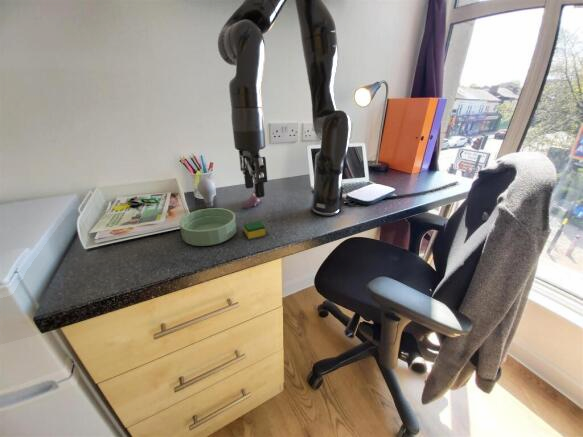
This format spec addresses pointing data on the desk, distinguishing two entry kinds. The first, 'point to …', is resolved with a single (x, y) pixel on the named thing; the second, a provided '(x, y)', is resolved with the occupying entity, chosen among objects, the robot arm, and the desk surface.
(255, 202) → the pink knobbly lump
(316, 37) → the robot arm
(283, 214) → the desk surface
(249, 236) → the sponge
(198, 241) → the bowl
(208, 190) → the lightbulb
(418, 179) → the desk surface
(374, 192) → the external hard drive
